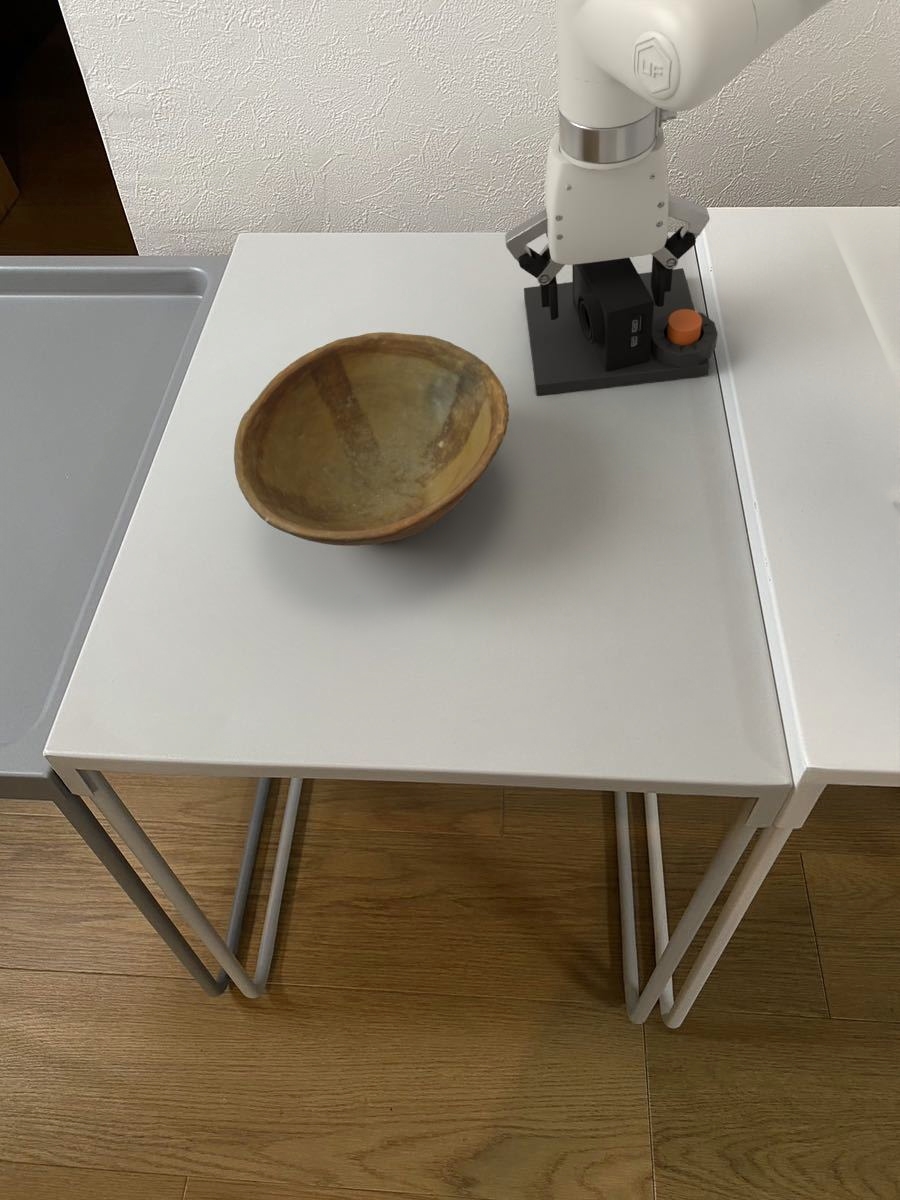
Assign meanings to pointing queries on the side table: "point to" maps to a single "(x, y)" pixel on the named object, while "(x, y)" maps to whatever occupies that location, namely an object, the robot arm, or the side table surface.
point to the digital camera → (614, 311)
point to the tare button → (684, 327)
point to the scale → (575, 362)
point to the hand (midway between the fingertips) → (604, 303)
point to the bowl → (369, 438)
